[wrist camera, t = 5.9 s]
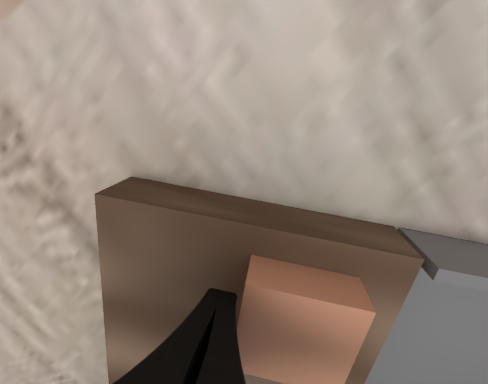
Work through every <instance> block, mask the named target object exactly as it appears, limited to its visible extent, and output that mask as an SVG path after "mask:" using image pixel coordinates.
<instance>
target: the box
mask: <svg viewBox="0 0 488 384" xmlns="http://www.w3.org/2000/svg"><path fill="white" fill-rule="evenodd" d="M398 232H399V233H400V234H401V235H402V236H403V237H404V238H405V239H406V240H407V241H408V242H409V244H410V245H411V246H412V247H413V248H414V249H415V250H416V251H417V252H418V253H419V254H420V255H421V256H422V257H423V258H424V262H423V264H422V266H421V268H420V270H419V272H418V274H417V276H416V278H415V281H414V283H413V285H412V287H411V289H410V291H409V293H408V295H407V297H406V299H405V301H404V303H403V305H402V307H401V309H400V311H399V313H398V316H397V318H396V320H395V322H394V324H393V326H392V328H391V330H390V332H389V334H388V336H387V338H386V340H385V342H384V344H383V346H382V348H381V351H380V353H379V355H378V357H377V359H376V361H375V363H374V365H373V367H372V369H371V371H370V373H369V375H368V377H367V379H366V381H365V383H364V384H488V245H487V244H482V243H477V242H471V241H466V240H461V239H455V238H450V237H445V236H440V235H434V234H429V233H424V232H419V231H413V230H408V229H403V228H399V230H398Z"/></svg>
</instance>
